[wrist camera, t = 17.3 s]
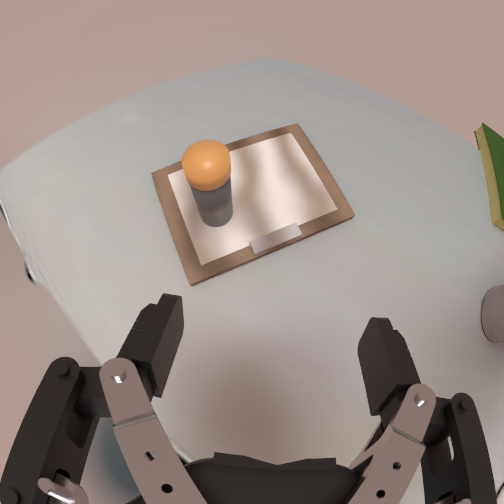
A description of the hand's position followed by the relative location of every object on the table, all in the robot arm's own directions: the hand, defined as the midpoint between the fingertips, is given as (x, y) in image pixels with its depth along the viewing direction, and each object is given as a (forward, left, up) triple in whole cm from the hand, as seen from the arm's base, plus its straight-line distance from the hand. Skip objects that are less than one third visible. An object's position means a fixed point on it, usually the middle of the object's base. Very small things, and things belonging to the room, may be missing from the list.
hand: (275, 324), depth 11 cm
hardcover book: (-61, +1, -21) cm, 64 cm away
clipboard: (-6, -15, -20) cm, 26 cm away
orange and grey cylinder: (-1, -14, -19) cm, 24 cm away
